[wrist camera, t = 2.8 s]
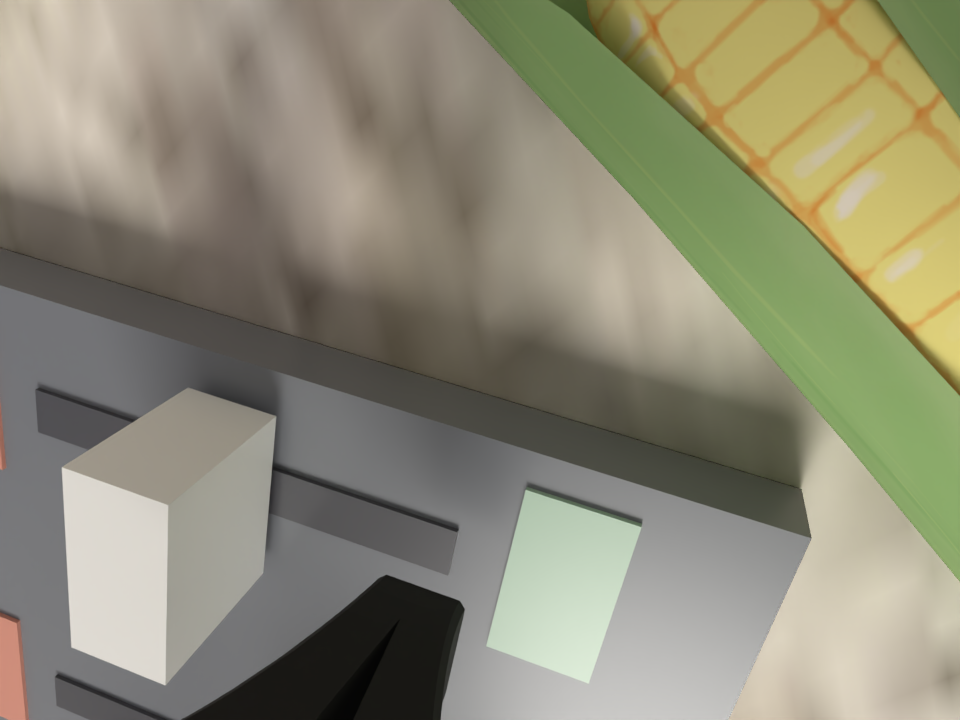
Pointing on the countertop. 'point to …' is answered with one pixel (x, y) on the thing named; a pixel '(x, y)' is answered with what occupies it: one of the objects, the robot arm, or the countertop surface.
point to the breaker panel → (385, 521)
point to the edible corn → (791, 191)
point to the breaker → (166, 530)
